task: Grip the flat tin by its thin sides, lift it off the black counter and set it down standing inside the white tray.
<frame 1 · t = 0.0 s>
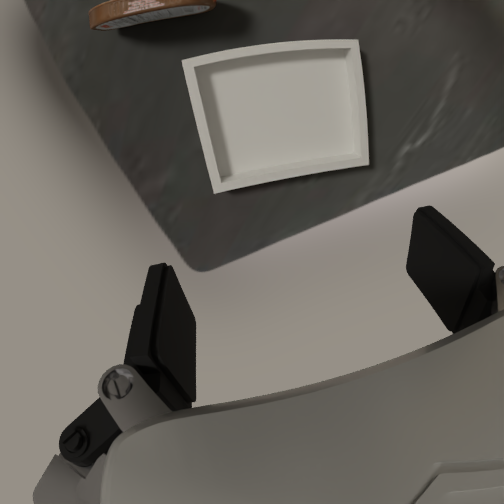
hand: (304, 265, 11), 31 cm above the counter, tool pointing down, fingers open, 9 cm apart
tin: (157, 14, 26), on the counter
white tray: (280, 108, 36), on the counter
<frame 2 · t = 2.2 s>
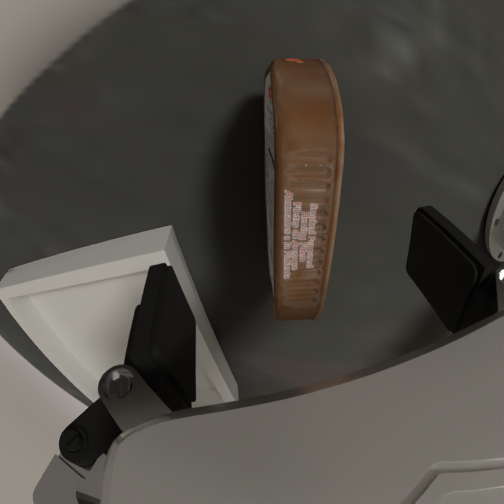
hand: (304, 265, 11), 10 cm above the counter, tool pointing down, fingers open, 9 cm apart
tin: (279, 173, 19), on the counter
white tray: (127, 339, 27), on the counter
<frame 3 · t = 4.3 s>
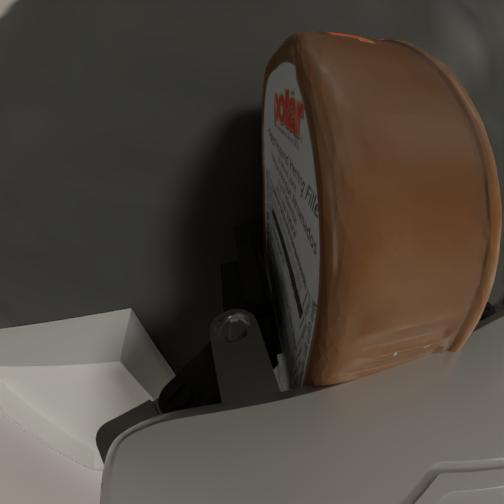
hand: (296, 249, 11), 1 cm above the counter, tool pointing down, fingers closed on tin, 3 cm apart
tin: (286, 235, 12), on the counter, touching gripper
white tray: (101, 411, 20), on the counter
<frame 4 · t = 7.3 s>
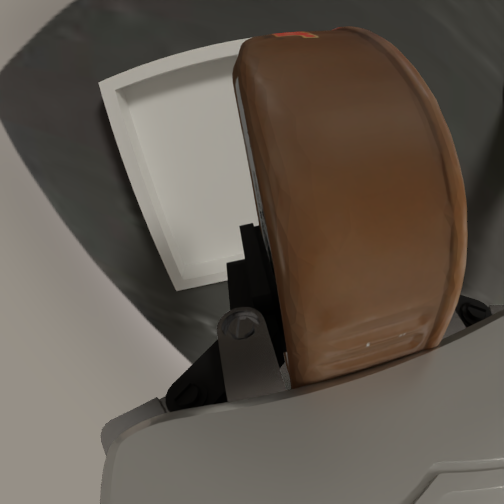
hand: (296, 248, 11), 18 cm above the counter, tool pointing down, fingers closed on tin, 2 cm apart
tin: (284, 231, 12), point 16 cm above the counter, touching gripper
white tray: (233, 161, 27), on the counter
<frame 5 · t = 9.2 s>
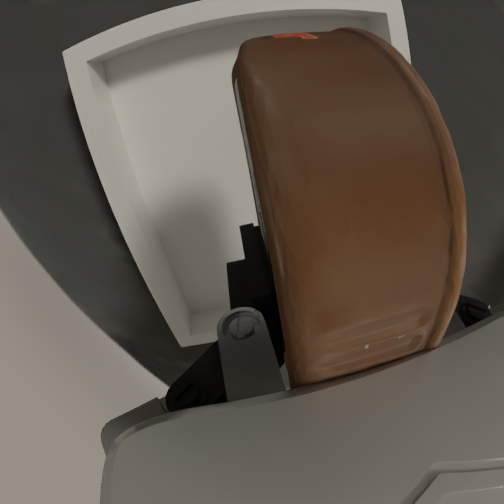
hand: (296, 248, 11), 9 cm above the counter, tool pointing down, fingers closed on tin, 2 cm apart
tin: (284, 231, 12), point 7 cm above the counter, touching gripper
white tray: (265, 174, 18), on the counter
when the fingers open (3 cm above the counter, at t = 10.8 s): tin drops 1 cm, resting on white tray.
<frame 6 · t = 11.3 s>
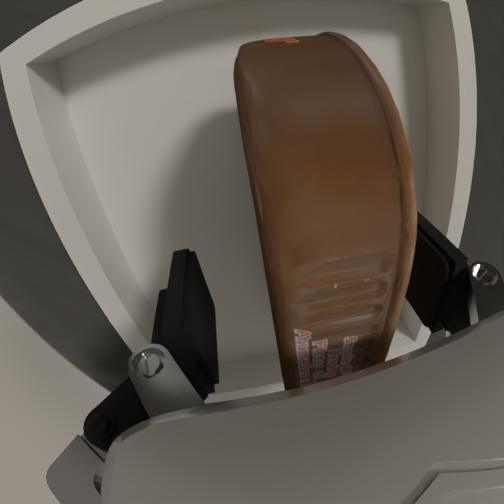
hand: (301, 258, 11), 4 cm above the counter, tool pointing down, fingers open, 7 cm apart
tin: (281, 216, 14), point 1 cm above the counter, touching white tray
white tray: (280, 212, 14), on the counter
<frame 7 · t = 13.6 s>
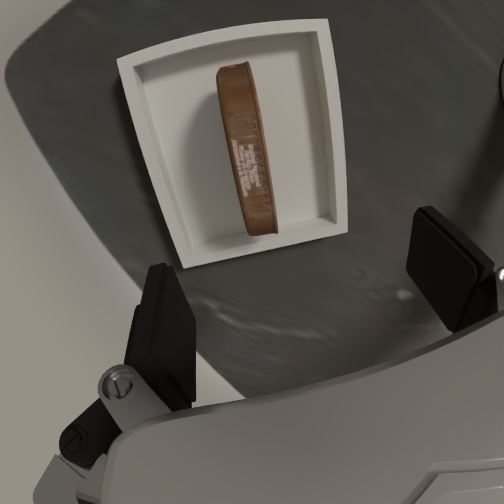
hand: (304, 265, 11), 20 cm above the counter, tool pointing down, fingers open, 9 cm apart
tin: (243, 140, 27), point 1 cm above the counter, touching white tray
white tray: (243, 140, 27), on the counter
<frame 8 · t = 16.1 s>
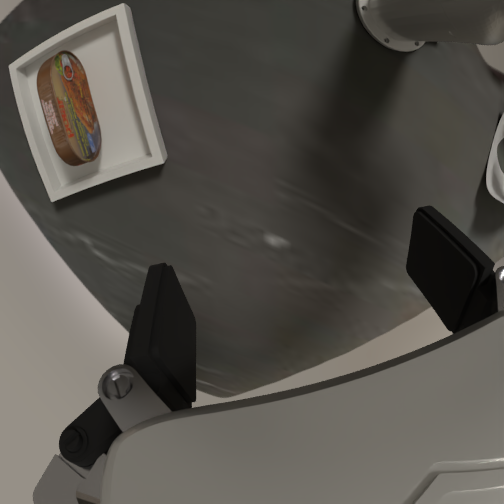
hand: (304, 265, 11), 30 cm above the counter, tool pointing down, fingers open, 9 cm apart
tin: (83, 103, 30), point 1 cm above the counter, touching white tray
white tray: (85, 103, 30), on the counter
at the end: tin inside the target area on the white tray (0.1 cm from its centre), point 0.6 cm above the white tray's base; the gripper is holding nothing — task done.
